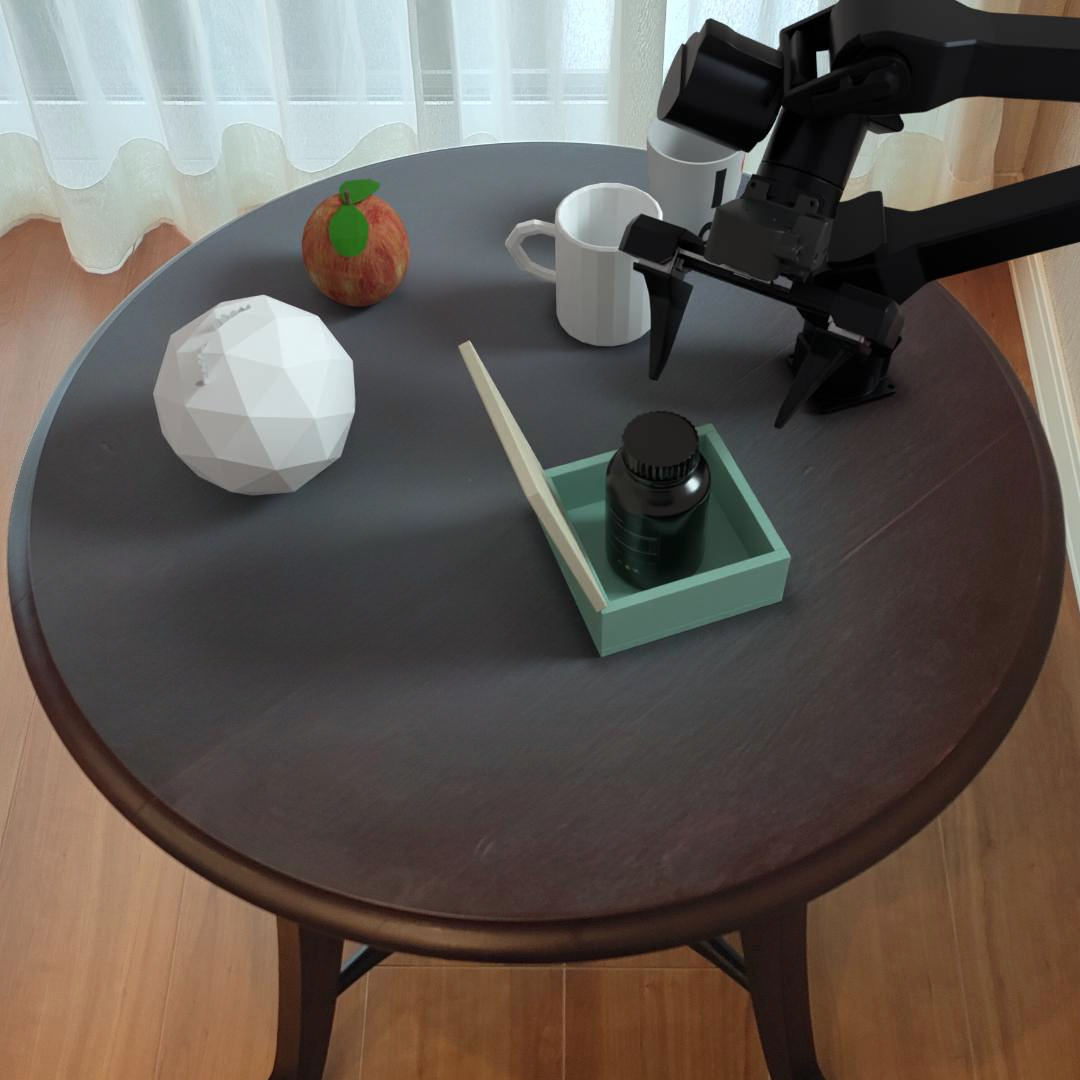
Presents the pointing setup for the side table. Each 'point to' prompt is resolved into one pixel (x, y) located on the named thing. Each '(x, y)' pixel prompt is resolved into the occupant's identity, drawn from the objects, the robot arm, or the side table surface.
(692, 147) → the cup
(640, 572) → the supplement bottle
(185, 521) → the side table surface
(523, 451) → the lid
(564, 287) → the mug
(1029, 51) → the robot arm
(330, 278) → the fruit
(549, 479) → the teal shallow box
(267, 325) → the geodesic sphere
